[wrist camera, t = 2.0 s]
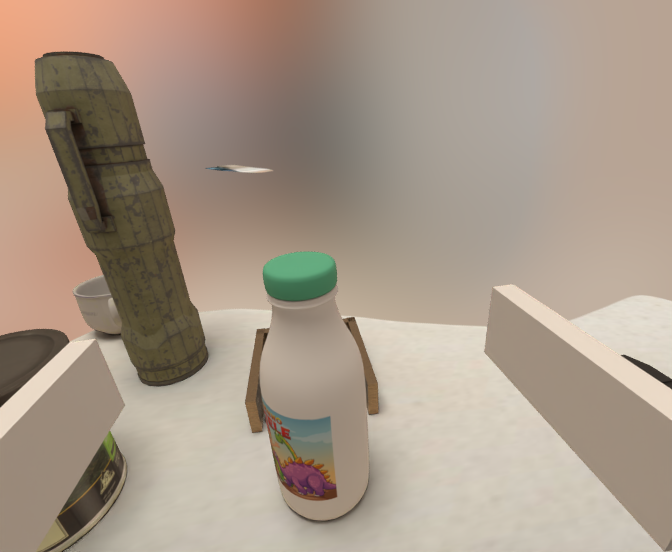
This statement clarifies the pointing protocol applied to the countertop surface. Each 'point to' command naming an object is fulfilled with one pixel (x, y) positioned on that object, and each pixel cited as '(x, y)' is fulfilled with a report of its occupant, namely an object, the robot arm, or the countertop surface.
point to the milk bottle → (313, 389)
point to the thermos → (121, 211)
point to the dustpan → (254, 390)
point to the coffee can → (104, 469)
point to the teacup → (98, 305)
